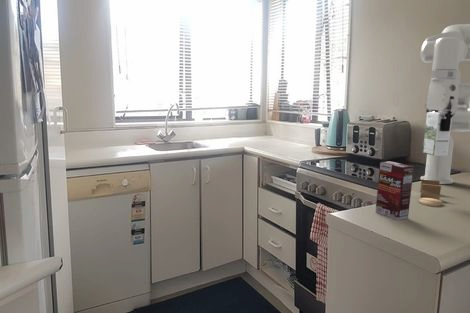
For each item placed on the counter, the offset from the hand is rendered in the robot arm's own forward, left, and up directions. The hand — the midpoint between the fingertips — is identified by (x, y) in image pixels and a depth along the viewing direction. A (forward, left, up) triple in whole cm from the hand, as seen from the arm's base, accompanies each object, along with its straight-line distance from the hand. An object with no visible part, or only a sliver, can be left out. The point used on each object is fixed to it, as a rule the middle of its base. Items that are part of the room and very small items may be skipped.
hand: (437, 129), depth 132 cm
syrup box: (0, 0, -9) cm, 9 cm away
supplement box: (+26, -11, -25) cm, 38 cm away
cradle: (-7, 0, -25) cm, 26 cm away
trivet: (+5, 0, -25) cm, 25 cm away
